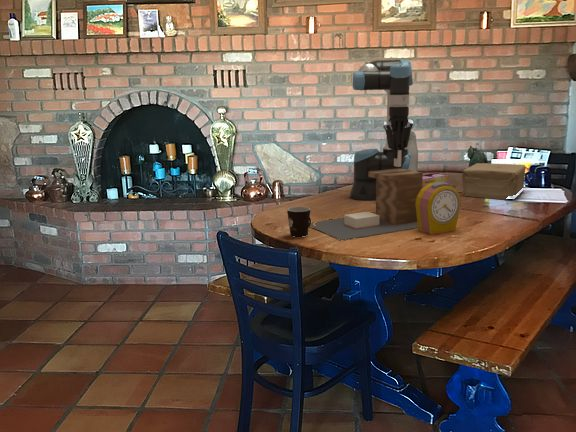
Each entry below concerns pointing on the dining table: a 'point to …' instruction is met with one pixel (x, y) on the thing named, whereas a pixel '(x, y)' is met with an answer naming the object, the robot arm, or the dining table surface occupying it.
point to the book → (361, 220)
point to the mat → (346, 232)
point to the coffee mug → (299, 221)
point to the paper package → (493, 180)
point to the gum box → (434, 179)
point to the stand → (397, 194)
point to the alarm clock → (437, 208)
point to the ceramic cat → (476, 156)
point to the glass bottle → (413, 152)
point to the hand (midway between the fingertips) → (397, 166)
